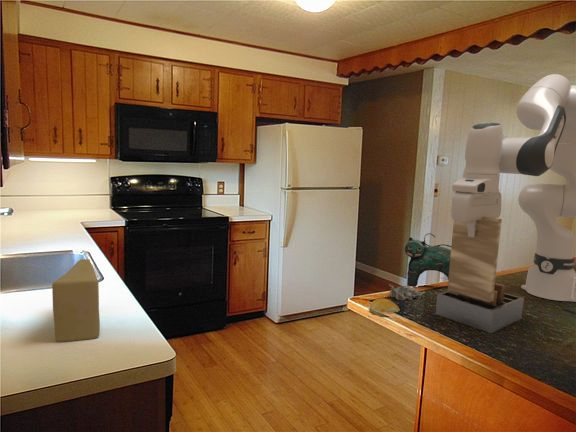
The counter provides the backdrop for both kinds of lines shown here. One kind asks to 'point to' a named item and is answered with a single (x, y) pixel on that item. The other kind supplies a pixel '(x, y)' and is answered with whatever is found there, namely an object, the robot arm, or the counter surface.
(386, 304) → the bread roll
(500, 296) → the walnut offcut
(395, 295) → the egg carton
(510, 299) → the rack
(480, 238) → the birch sheet
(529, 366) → the counter surface
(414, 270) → the ceramic cat
